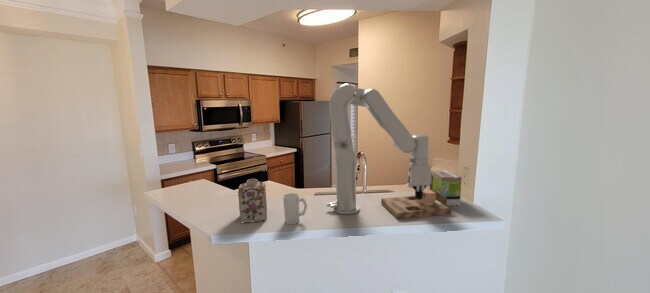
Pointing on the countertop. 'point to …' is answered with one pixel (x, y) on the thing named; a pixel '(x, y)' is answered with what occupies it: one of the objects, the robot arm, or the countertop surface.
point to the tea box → (447, 186)
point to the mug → (293, 208)
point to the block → (428, 197)
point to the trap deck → (416, 206)
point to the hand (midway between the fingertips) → (418, 198)
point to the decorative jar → (252, 201)
